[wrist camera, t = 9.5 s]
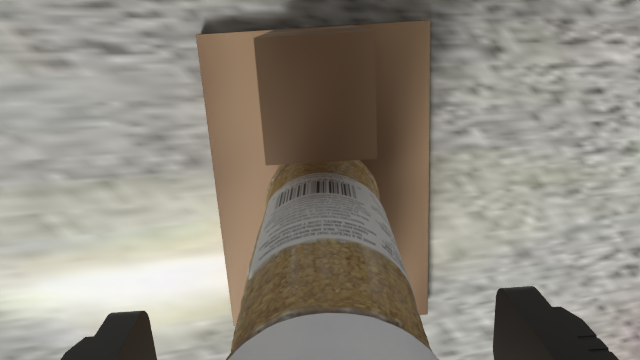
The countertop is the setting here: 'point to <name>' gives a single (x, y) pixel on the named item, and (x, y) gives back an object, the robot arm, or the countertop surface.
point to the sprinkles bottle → (327, 273)
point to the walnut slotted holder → (319, 125)
